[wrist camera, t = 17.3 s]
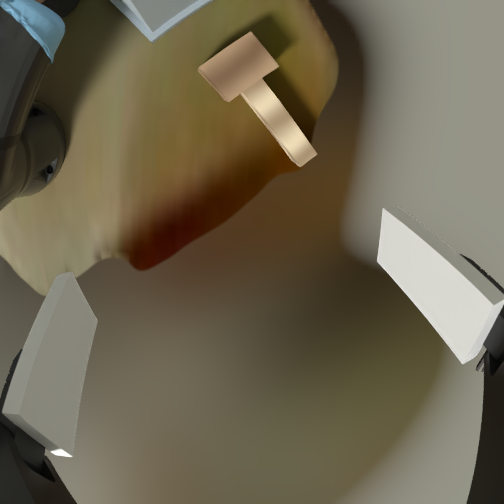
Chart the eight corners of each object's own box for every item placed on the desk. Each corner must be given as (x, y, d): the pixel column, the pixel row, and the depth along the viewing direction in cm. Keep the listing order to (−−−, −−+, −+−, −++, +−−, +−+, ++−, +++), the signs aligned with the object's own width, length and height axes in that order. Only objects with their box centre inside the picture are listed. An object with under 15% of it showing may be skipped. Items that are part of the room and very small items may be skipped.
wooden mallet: (318, 140, 45) (335, 147, 40) (279, 169, 46) (291, 181, 41) (242, 38, 34) (250, 31, 29) (197, 70, 36) (199, 67, 31)
